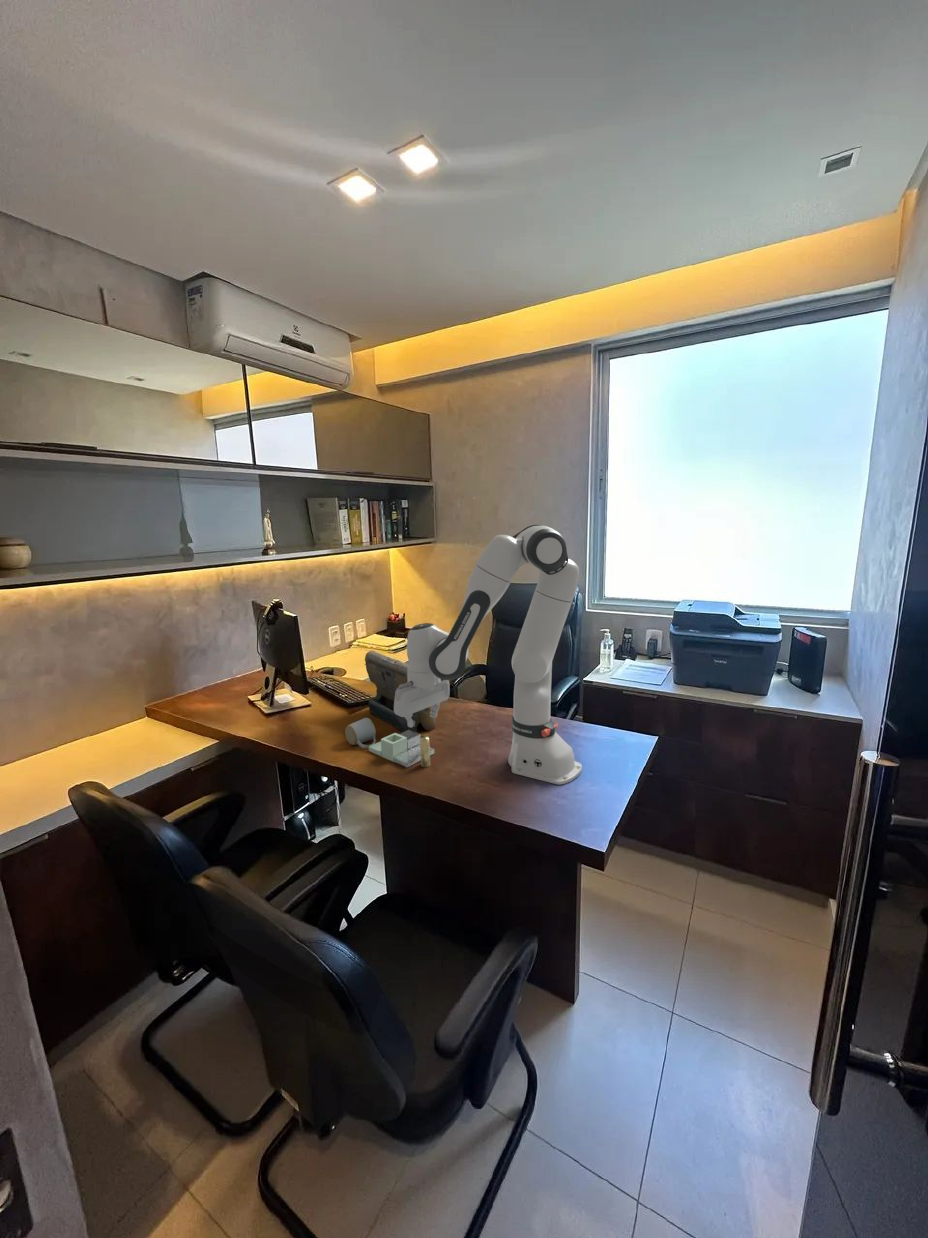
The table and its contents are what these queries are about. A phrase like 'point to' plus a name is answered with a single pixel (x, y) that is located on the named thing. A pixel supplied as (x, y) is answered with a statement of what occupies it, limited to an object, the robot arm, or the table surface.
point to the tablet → (392, 692)
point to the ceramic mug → (360, 732)
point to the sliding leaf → (411, 750)
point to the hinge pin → (425, 751)
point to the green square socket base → (390, 746)
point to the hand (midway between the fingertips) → (422, 721)
